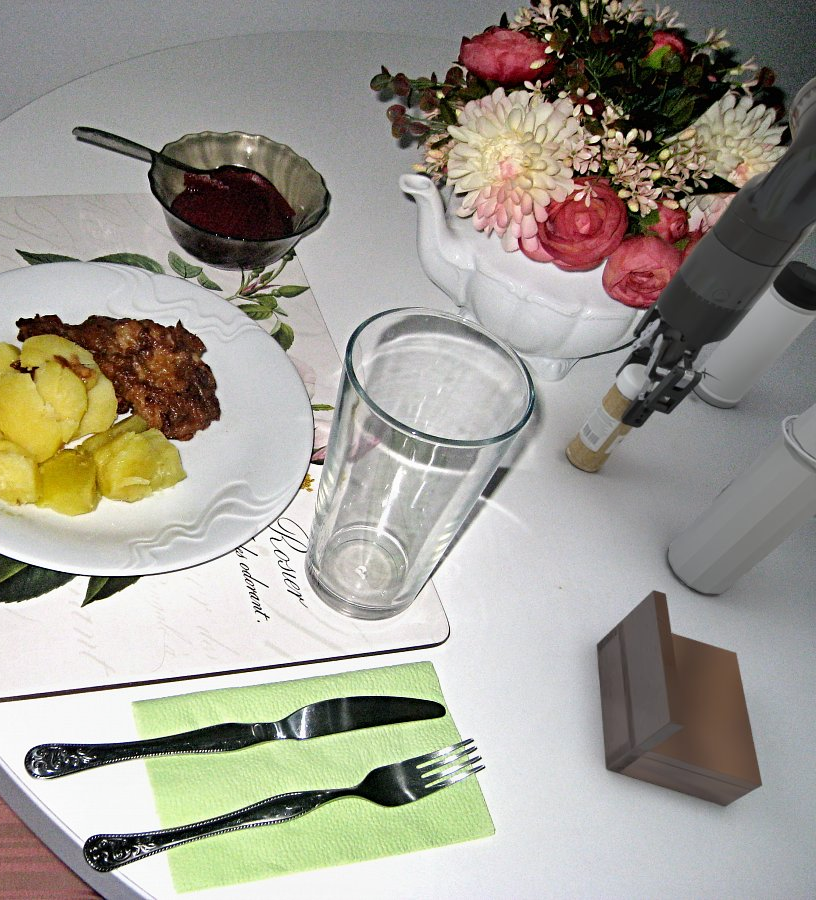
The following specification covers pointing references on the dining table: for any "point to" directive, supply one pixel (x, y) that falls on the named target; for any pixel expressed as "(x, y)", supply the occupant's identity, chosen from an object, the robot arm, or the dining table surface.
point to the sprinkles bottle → (607, 421)
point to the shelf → (675, 708)
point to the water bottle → (752, 512)
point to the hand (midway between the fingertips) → (626, 401)
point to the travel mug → (760, 337)
